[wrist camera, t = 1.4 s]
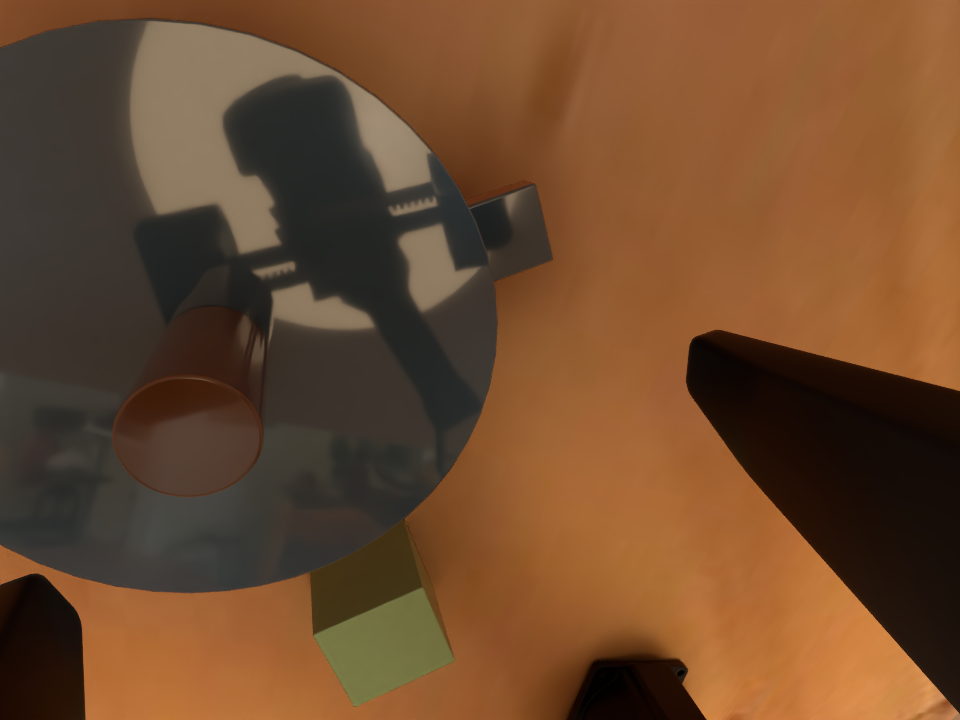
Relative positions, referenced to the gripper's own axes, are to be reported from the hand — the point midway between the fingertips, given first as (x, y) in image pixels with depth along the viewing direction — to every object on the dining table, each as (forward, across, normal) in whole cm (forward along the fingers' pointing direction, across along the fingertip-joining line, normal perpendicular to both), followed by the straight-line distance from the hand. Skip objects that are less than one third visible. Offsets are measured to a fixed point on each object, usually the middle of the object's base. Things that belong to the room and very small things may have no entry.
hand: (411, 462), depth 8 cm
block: (+12, +2, +18) cm, 22 cm away
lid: (+9, +3, +2) cm, 10 cm away
